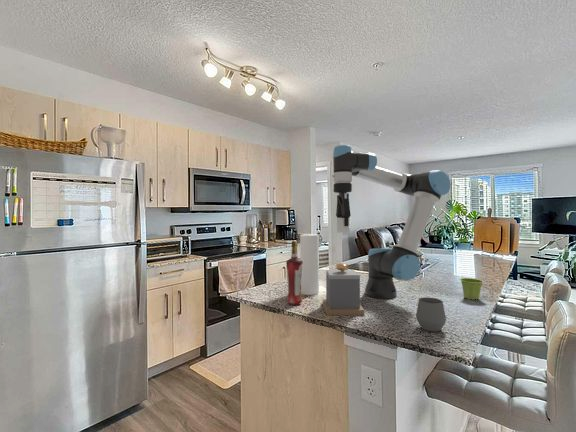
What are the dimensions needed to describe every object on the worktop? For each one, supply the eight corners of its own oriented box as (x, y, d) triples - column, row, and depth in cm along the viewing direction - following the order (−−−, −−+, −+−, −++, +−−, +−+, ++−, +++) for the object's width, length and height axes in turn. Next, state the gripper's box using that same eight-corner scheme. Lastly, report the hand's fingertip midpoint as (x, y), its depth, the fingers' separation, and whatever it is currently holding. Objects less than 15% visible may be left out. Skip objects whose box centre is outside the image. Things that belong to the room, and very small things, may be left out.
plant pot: (485, 298, 144) (485, 280, 144) (480, 302, 137) (480, 283, 137) (463, 294, 150) (463, 277, 150) (457, 298, 143) (457, 280, 143)
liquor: (291, 300, 141) (290, 240, 141) (305, 302, 138) (305, 240, 137) (283, 304, 134) (283, 241, 134) (298, 306, 131) (298, 242, 131)
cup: (416, 331, 103) (416, 302, 103) (415, 322, 112) (415, 295, 112) (447, 335, 100) (447, 305, 100) (444, 326, 108) (444, 298, 108)
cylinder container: (318, 290, 159) (318, 233, 159) (318, 295, 150) (318, 234, 150) (300, 290, 160) (300, 233, 160) (299, 294, 151) (299, 234, 151)
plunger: (350, 299, 132) (350, 262, 132) (354, 305, 124) (354, 266, 123) (330, 299, 132) (330, 262, 132) (333, 305, 124) (333, 266, 123)
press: (356, 303, 135) (356, 269, 135) (364, 314, 120) (364, 276, 120) (322, 303, 135) (322, 269, 135) (326, 315, 120) (326, 276, 120)
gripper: (329, 185, 140) (329, 231, 140) (338, 179, 115) (338, 235, 115) (345, 185, 140) (346, 231, 140) (358, 179, 115) (358, 235, 115)
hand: (342, 233), depth 128 cm, fingers open, 13 cm apart
